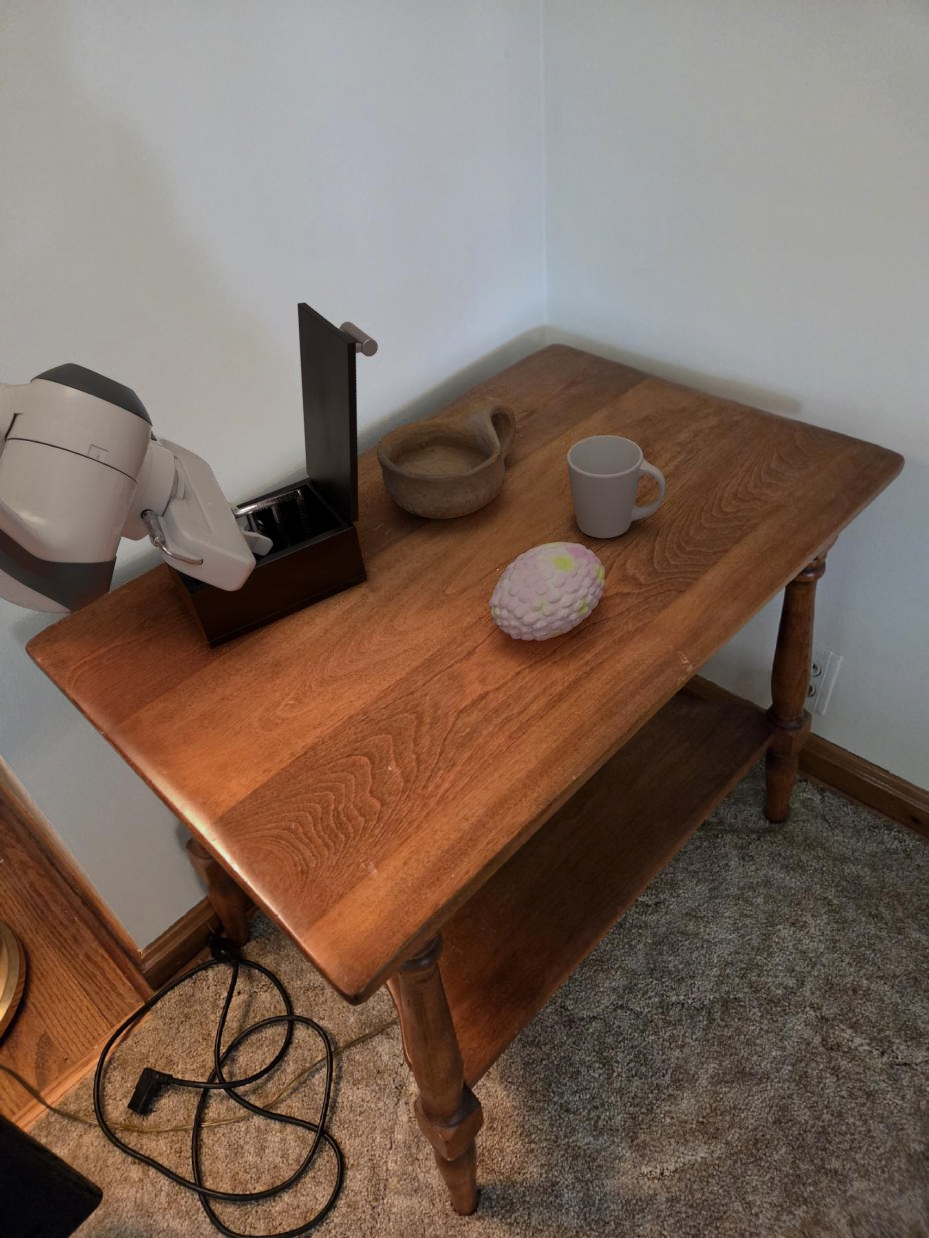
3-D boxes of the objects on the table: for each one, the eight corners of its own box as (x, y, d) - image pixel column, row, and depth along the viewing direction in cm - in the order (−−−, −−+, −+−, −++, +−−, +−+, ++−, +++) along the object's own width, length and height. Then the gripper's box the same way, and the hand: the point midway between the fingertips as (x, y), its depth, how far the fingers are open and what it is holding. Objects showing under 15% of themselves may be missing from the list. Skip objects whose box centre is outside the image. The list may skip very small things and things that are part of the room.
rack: (222, 608, 90) (195, 536, 84) (213, 585, 93) (186, 514, 87) (327, 570, 93) (309, 498, 87) (315, 549, 96) (297, 478, 90)
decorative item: (461, 613, 81) (520, 518, 78) (497, 601, 91) (551, 517, 88) (543, 672, 79) (607, 578, 76) (570, 653, 89) (628, 569, 87)
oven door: (347, 343, 77) (393, 336, 79) (297, 303, 84) (340, 297, 86) (351, 523, 88) (391, 512, 90) (306, 473, 95) (344, 465, 97)
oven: (211, 649, 88) (189, 595, 83) (176, 590, 95) (155, 536, 90) (367, 580, 93) (355, 525, 88) (323, 529, 100) (310, 476, 96)
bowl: (430, 428, 111) (442, 358, 104) (531, 476, 109) (551, 408, 101) (350, 506, 100) (357, 435, 93) (460, 563, 97) (476, 494, 90)
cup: (578, 498, 100) (577, 431, 95) (669, 510, 97) (674, 441, 91) (559, 539, 95) (557, 471, 89) (654, 553, 92) (659, 483, 86)
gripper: (173, 519, 73) (313, 571, 82) (131, 411, 87) (254, 466, 96) (137, 580, 75) (277, 625, 84) (101, 464, 89) (224, 513, 98)
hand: (264, 539), depth 90 cm, fingers closed on rack
